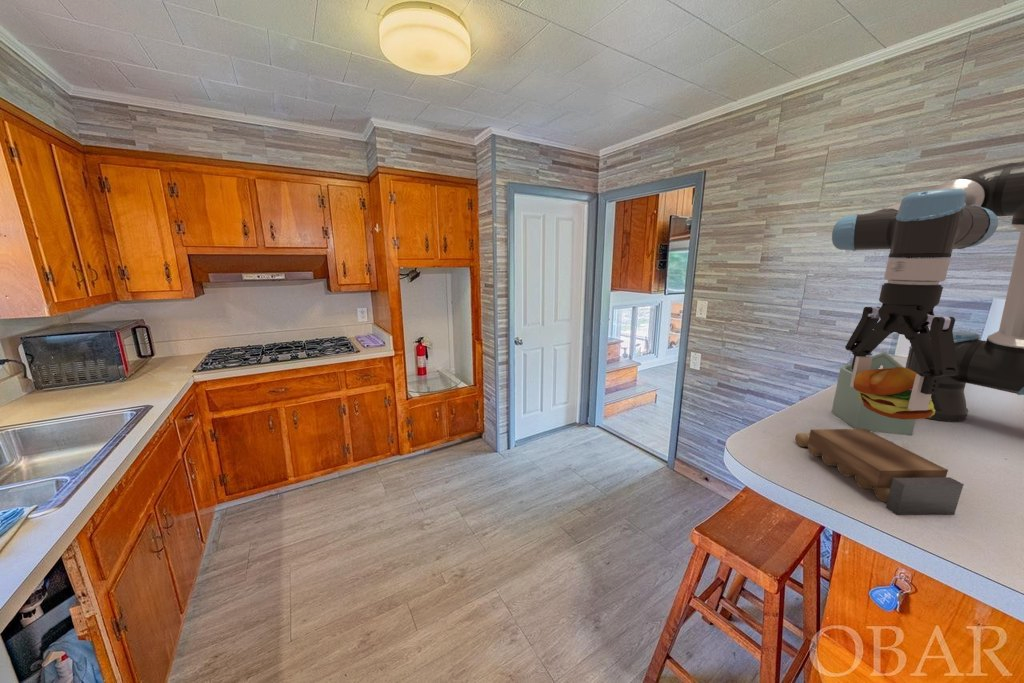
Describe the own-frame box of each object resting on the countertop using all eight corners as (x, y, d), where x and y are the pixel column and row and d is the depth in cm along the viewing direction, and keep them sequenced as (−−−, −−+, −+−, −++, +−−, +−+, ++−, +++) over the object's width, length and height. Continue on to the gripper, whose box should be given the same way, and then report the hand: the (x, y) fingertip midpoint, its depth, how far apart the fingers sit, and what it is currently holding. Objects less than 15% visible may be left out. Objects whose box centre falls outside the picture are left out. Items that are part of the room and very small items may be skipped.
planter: (819, 417, 102) (832, 349, 98) (832, 411, 106) (845, 345, 101) (900, 442, 88) (920, 364, 84) (912, 434, 92) (931, 359, 87)
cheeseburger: (948, 428, 64) (942, 373, 63) (864, 428, 70) (858, 378, 68) (924, 407, 72) (919, 358, 71) (852, 408, 78) (846, 363, 77)
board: (861, 443, 82) (864, 428, 81) (943, 487, 66) (948, 470, 66) (807, 443, 82) (810, 429, 81) (876, 487, 67) (880, 470, 66)
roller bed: (827, 442, 89) (829, 430, 88) (932, 505, 66) (936, 490, 66) (794, 442, 89) (796, 431, 88) (888, 505, 66) (892, 490, 66)
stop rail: (941, 506, 66) (950, 477, 65) (954, 514, 64) (963, 484, 63) (885, 507, 66) (892, 477, 65) (896, 514, 64) (904, 484, 63)
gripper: (835, 278, 77) (817, 377, 82) (969, 288, 54) (932, 424, 59) (871, 278, 77) (850, 377, 82) (1020, 287, 54) (979, 424, 59)
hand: (885, 397), depth 71 cm, fingers closed on cheeseburger, 11 cm apart
